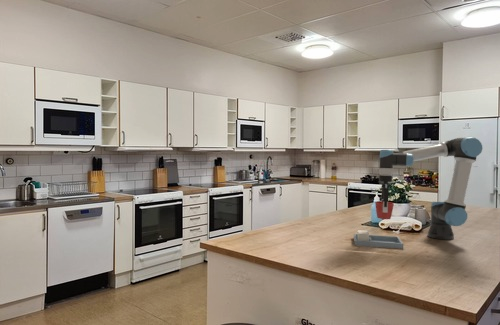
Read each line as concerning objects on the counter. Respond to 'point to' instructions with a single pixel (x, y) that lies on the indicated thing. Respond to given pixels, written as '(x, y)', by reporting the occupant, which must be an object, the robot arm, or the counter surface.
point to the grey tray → (380, 241)
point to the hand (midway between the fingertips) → (384, 211)
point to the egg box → (362, 235)
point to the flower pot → (380, 210)
